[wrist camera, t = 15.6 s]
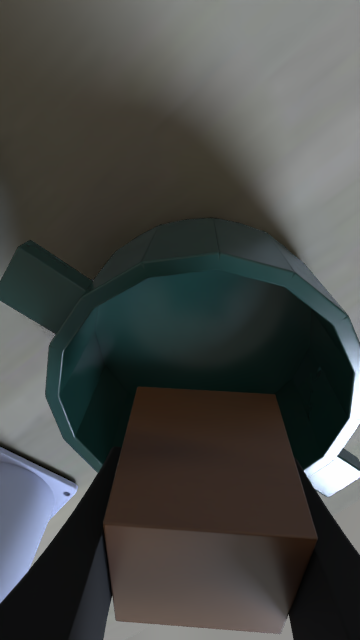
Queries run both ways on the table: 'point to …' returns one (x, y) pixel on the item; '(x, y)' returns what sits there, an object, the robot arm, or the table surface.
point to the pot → (195, 337)
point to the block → (207, 513)
